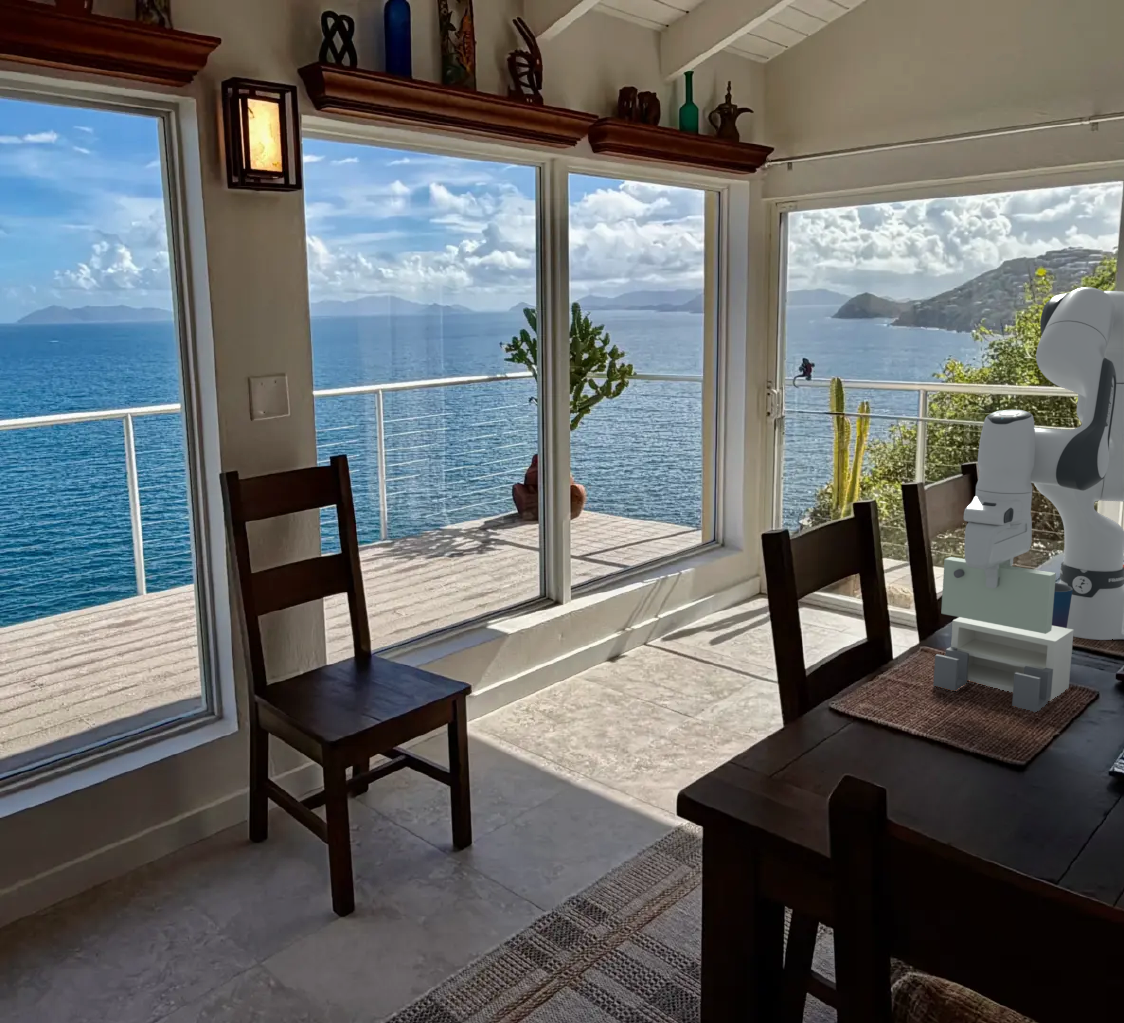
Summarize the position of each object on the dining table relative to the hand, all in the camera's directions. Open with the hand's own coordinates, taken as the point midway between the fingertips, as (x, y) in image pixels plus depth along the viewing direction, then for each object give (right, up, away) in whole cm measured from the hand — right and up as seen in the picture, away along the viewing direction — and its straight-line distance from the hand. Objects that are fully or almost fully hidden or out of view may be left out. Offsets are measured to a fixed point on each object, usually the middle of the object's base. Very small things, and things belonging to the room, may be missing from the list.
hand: (997, 585), depth 176 cm
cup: (+18, -17, +21) cm, 32 cm away
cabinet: (+4, -19, +8) cm, 21 cm away
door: (0, -7, +1) cm, 7 cm away
